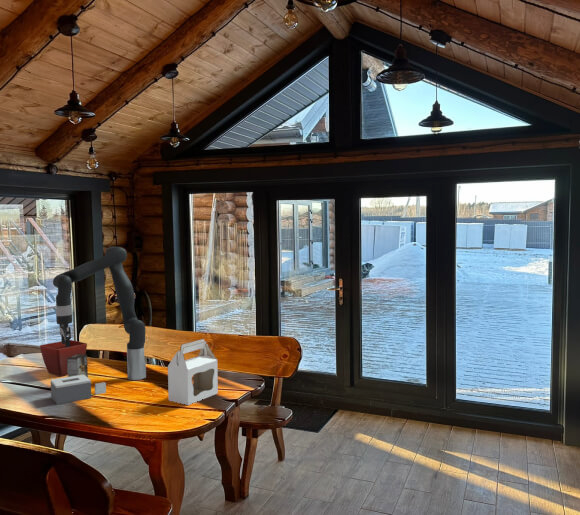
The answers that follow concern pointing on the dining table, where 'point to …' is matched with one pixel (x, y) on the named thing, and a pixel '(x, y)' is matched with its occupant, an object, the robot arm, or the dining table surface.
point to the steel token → (100, 388)
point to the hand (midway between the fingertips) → (65, 345)
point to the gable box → (185, 369)
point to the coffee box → (77, 365)
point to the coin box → (70, 389)
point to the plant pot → (60, 355)
